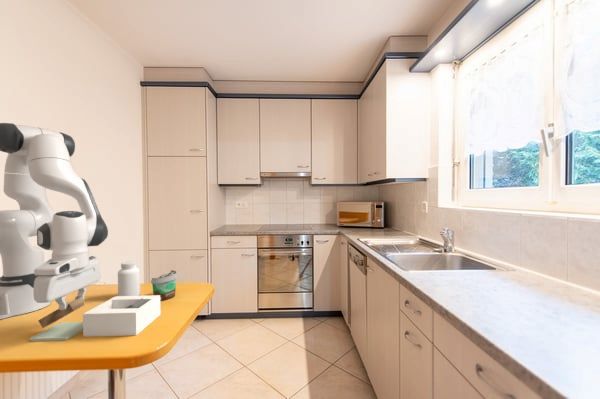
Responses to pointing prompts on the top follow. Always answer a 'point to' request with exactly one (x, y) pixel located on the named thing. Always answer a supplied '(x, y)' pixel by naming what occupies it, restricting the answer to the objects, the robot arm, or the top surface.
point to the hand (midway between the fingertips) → (72, 305)
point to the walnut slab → (60, 313)
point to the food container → (165, 285)
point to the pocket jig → (121, 316)
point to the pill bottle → (129, 279)
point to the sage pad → (59, 332)
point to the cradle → (136, 304)
